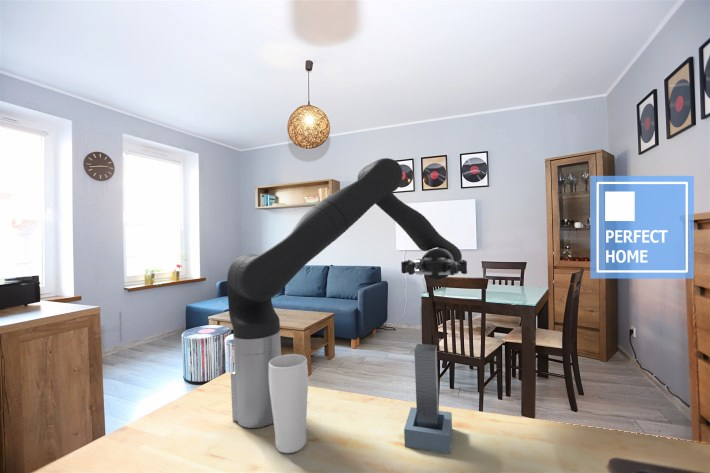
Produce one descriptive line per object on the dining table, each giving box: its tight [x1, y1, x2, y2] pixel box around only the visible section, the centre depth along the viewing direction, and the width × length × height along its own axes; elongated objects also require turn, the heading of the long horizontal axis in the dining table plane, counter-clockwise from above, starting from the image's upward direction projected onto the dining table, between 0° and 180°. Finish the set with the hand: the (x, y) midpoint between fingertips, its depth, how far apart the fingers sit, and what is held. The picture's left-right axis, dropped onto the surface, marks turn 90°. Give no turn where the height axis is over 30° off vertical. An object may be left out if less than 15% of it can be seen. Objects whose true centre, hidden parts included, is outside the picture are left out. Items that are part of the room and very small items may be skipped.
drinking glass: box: [268, 353, 309, 454], centre depth 59 cm, size 7×7×15 cm
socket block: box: [403, 406, 453, 455], centre depth 60 cm, size 8×8×3 cm
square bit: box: [414, 343, 440, 430], centre depth 60 cm, size 4×4×16 cm
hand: (430, 269), depth 70 cm, fingers open, 8 cm apart
